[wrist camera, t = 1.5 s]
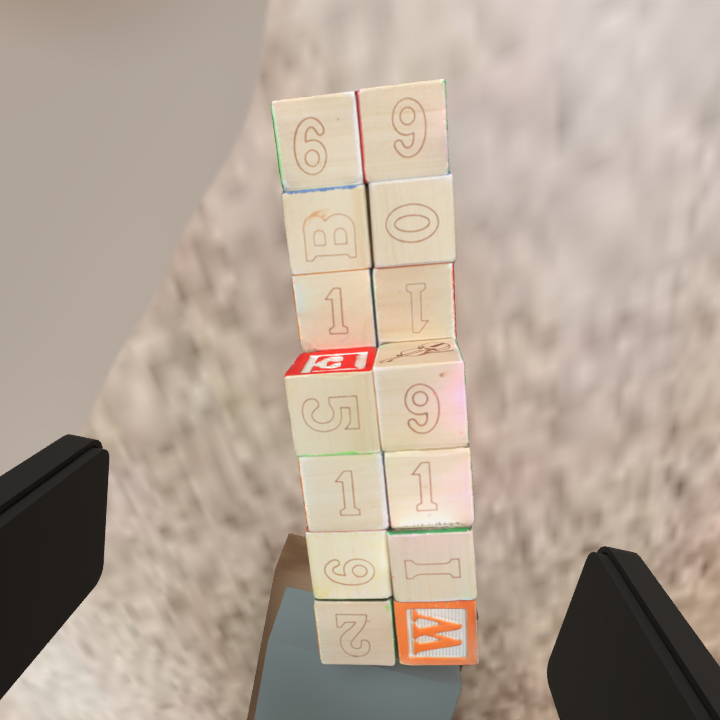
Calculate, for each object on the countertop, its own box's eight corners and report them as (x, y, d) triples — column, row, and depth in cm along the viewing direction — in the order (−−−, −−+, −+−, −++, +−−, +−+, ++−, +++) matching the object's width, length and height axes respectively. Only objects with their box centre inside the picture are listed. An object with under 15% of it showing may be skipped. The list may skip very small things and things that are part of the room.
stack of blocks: (316, 140, 26) (240, 68, 14) (437, 127, 25) (462, 40, 14) (351, 504, 32) (318, 671, 20) (452, 501, 31) (480, 673, 19)
